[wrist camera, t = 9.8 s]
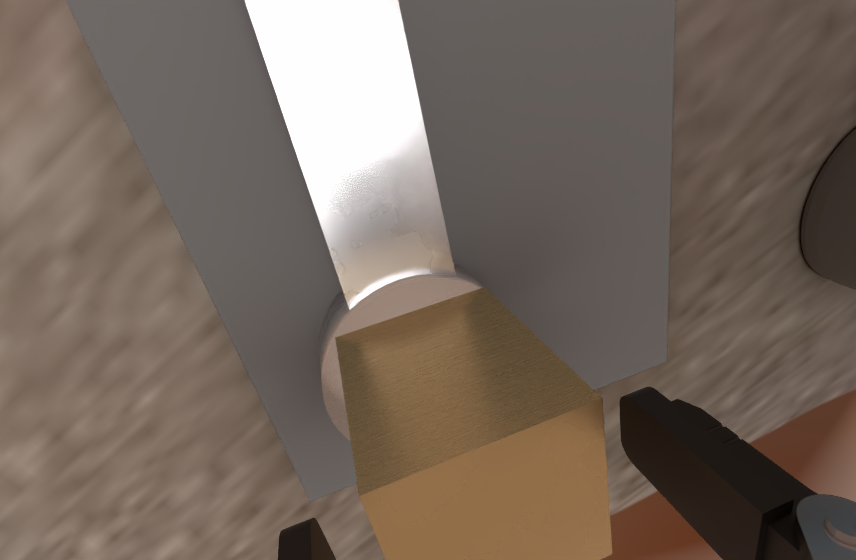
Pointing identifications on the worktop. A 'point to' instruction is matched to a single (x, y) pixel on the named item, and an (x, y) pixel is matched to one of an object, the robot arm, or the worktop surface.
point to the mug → (833, 217)
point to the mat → (454, 172)
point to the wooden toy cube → (474, 438)
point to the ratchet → (360, 163)
